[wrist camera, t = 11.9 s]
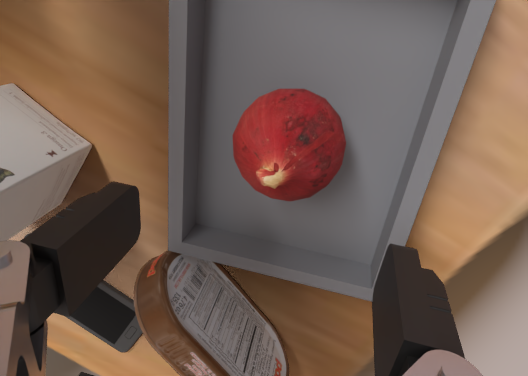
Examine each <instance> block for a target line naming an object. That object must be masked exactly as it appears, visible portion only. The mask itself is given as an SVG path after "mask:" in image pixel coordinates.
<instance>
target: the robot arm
mask: <svg viewBox="0 0 528 376" xmlns="http://www.w3.org/2000/svg"><path fill="white" fill-rule="evenodd" d="M140 229H141V222H140V202H139V191H138V188H137V187H136V186H132V185H128V184H123V183H118V182H111V183H109V184H108V185H107V186H105V187H104V188H103V189H101V190H100V191H99V192H97V193H92V194H89V195H87V196H84V197H82V198H79V199H77V200H76V201H74V202H73V203H72V204H70V205H69V206H68V207H66V210H65V209H63V210H62V211H61V212H59V213H58V214H57V215H56V217H52V218H51V219H50V220H48V221H47V222H46V223H44V224H43V225H41V226H40V227H39V228H37V229H36V230H35V231H33V232H32V233H31V234H29V235H28V236H26V237H25V238H24V239H22V240H21V241H20V242H19V241H12V240H8V241H0V376H45V372H46V350H47V330H48V326H47V321H46V319H47V318H48V317H49V316H50V315H51V314H52V313H57V314H60V315H64V316H67V317H70V316H71V315H72V314H73V312H74V311H75V310H76V309H77V308H78V307H79V306H80V305H81V304H82V302H83V301H84V300H85V299H86V298H87V297H88V296H89V295H90V294H91V292H92V291H93V290H94V289H95V288H96V287H97V286H98V285H99V284H100V282H101V281H102V280H103V279H104V278H105V277H106V276H107V275H108V274H109V272H110V271H111V270H112V269H113V268H114V267H115V266H116V265H117V263H118V262H119V261H120V260H121V259H122V258H123V257H124V256H125V255H126V253H127V252H128V251H129V250H130V249H131V248H132V247H133V246H134V244H135V243H136V241H137V240H138V237H139V234H140ZM372 312H373V338H374V362H375V363H374V364H375V376H483V375H482V374H481V373H480V372H479V371H478V369H477V368H476V367H474V366H473V365H472V364H471V363H470V362H469V361H467V360H465V357H464V353H463V350H462V346H461V343H460V339H459V336H458V332H457V329H456V325H455V322H454V318H453V315H452V314H451V308H450V304H449V302H448V298H447V294H446V290H445V287H444V284H443V283H442V282H441V280H440V279H439V278H438V277H437V275H436V274H435V273H434V271H433V270H429V269H424V268H421V264H420V260H419V255H418V251H417V249H414V248H409V247H405V246H400V245H396V244H391V243H390V244H389V246H388V248H387V250H386V253H385V256H384V259H383V262H382V265H381V268H380V271H379V274H378V277H377V280H376V283H375V286H374V291H373V298H372ZM79 376H94V375H90V374H87V373H84V372H81V373H80V375H79Z"/></svg>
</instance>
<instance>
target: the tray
mask: <svg viewBox="0 0 528 376" xmlns="http://www.w3.org/2000/svg"><path fill="white" fill-rule="evenodd" d="M495 2H496V0H169V143H168V251H172V252H176V253H180V254H184V255H188V256H192V257H196V258H200V259H204V260H208V261H212V262H216V263H220V264H224V265H228V266H232V267H236V268H240V269H244V270H248V271H252V272H256V273H260V274H264V275H268V276H272V277H276V278H280V279H284V280H288V281H292V282H296V283H300V284H304V285H308V286H312V287H316V288H320V289H324V290H328V291H332V292H336V293H340V294H344V295H348V296H352V297H356V298H360V299H364V300H368V301H372V298H373V291H374V286H375V283H376V280H377V277H378V274H379V271H380V268H381V265H382V262H383V259H384V256H385V253H386V250H387V248H388V246H389V244H390V243H391V244H396V245H400V246H405V245H406V242H407V239H408V237H409V234H410V231H411V229H412V226H413V223H414V220H415V218H416V215H417V212H418V210H419V207H420V204H421V202H422V199H423V196H424V193H425V191H426V188H427V185H428V183H429V180H430V177H431V175H432V172H433V169H434V166H435V164H436V161H437V158H438V156H439V153H440V150H441V148H442V145H443V142H444V139H445V137H446V134H447V131H448V129H449V126H450V123H451V121H452V118H453V115H454V112H455V110H456V107H457V104H458V102H459V99H460V96H461V94H462V91H463V88H464V85H465V83H466V80H467V77H468V75H469V72H470V69H471V67H472V64H473V61H474V58H475V56H476V53H477V50H478V48H479V45H480V42H481V40H482V37H483V34H484V32H485V29H486V26H487V23H488V21H489V18H490V15H491V13H492V10H493V7H494V5H495ZM277 89H306V90H309V91H311V92H313V93H315V94H317V95H319V96H321V97H324V98H326V100H327V101H328V102H329V103H330V105H331V106H332V107H333V108H334V110H335V111H336V112H337V113H338V115H339V116H340V118H341V121H342V126H343V130H344V135H345V140H346V147H345V152H344V157H343V162H342V165H341V167H340V170H339V171H338V172H337V174H336V175H335V176H334V178H333V179H332V180H331V182H330V183H329V184H328V185H327V186H326V187H325V188H323V189H322V190H320V191H319V192H317V193H316V194H314V195H313V196H312V197H310V198H305V199H300V200H296V201H284V200H278V199H272V198H270V197H268V196H266V195H264V194H262V193H260V192H258V191H256V190H254V189H253V187H252V186H251V185H250V184H249V183H248V182H247V181H246V180H245V179H244V178H243V177H242V175H241V173H240V171H239V169H238V166H237V164H236V162H235V160H234V156H233V133H234V131H235V129H236V126H237V124H238V122H239V120H240V118H241V116H242V114H243V112H244V111H245V110H246V109H247V108H248V107H249V106H250V105H251V104H252V103H253V102H254V101H255V100H256V99H257V98H258V97H260V96H262V95H265V94H267V93H270V92H272V91H275V90H277Z"/></svg>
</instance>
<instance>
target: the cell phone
mask: <svg viewBox="0 0 528 376" xmlns="http://www.w3.org/2000/svg"><path fill="white" fill-rule="evenodd" d="M28 235H29V234H27V235H26V236H28ZM26 236H25V237H26ZM25 237H24V238H25ZM65 317H67V316H65ZM67 318H68V319H70V320H72V321H73V322H75V323H76V324H78V325H79V326H81V327H82V328H84V329H85V330H87V331H89V332H90V333H92V334H93V335H95V336H96V337H98V338H99V339H101V340H102V341H104V342H106V343H107V344H109V345H110V346H112V347H113V348H115V349H116V350H118V351H120V352H127V351H128V350H129V349H130V348H131V347H132V346H133V345H134V343H135V342H136V341H137V339H138V338H139V337H140V336H141V334H142V333H143V332H142V330H141V328H140V326H139V323H138V320H137V316H136V313H135V307H134V300H132V299H131V298H129V297H128V296H126V295H125V294H123V293H122V292H120V291H119V290H117V289H116V288H114V287H113V286H111V285H110V284H108V283H107V282H105V281H104V280H102V281H101V282H100V284H99V285H98V286H97V287H96V288H95V289H94V290H93V291H92V292H91V294H90V295H89V296H88V297H87V298H86V299H85V300H84V301H83V302H82V304H81V305H80V306H79V307H78V308H77V309H76V310H75V311H74V312H73V314H72V315H71V316H70V317H67Z"/></svg>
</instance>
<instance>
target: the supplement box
mask: <svg viewBox="0 0 528 376" xmlns="http://www.w3.org/2000/svg"><path fill="white" fill-rule="evenodd" d="M91 148H92V144H91V143H90V142H88V141H87V140H85V139H84V138H82V137H81V136H79V135H78V134H77V133H75V132H74V131H73V130H71V129H70V128H69V127H67V126H66V125H65V124H63V123H62V122H61V121H59V120H58V119H57V118H56V117H54V116H53V115H52V114H51V113H49V112H48V111H47V110H45V109H44V108H43V107H42V106H41V105H39V104H38V103H37V102H35V101H34V100H33V99H32V98H30V97H29V96H28V95H27V94H26V93H24V92H23V91H22V90H21V89H20V88H18V87H17V86H16V85H15V84H13V83H11V84H6V85H2V86H0V241H7V240H8V239H10V238H11V237H13V236H14V235H16V234H17V233H19V232H20V231H22V230H23V229H25V228H26V227H28V226H29V225H31V224H32V223H34V222H35V221H36V220H38V219H39V218H41V217H42V216H44V215H45V214H47V213H48V212H50V211H51V210H53V209H54V208H56V207H57V206H59V205H60V204H61V203H62V201H63V200H64V198H65V196H66V194H67V192H68V190H69V189H70V187H71V185H72V183H73V181H74V179H75V178H76V176H77V174H78V172H79V170H80V168H81V166H82V165H83V163H84V161H85V159H86V157H87V155H88V154H89V152H90V150H91Z"/></svg>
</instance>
